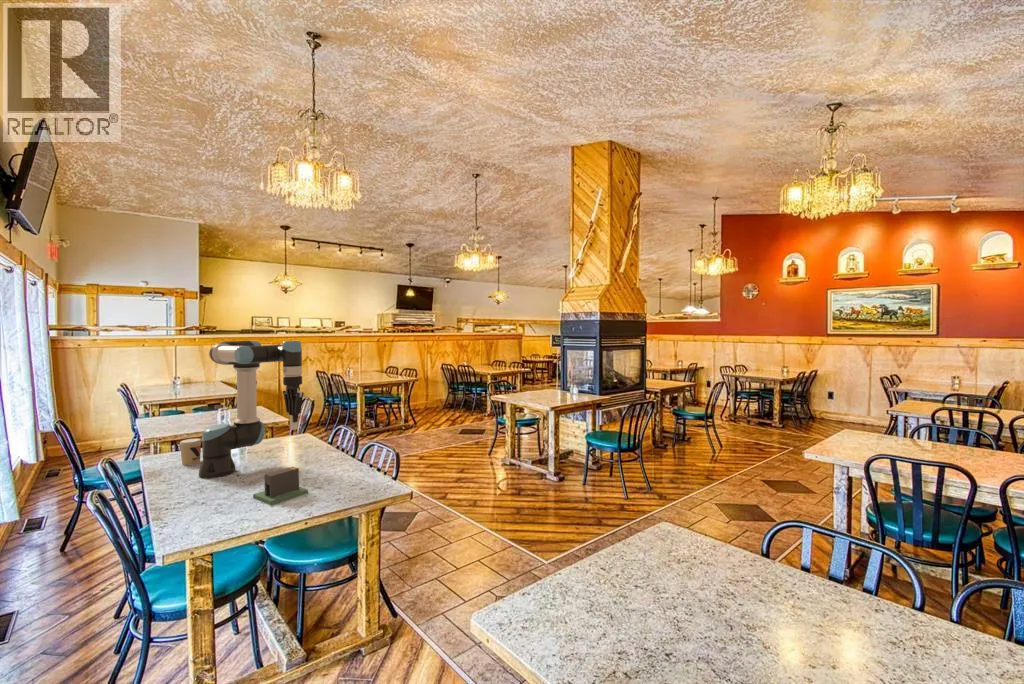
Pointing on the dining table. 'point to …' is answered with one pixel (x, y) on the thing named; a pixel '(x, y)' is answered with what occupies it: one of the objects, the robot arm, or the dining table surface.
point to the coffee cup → (190, 451)
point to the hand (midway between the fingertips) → (293, 429)
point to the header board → (279, 498)
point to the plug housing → (281, 481)
